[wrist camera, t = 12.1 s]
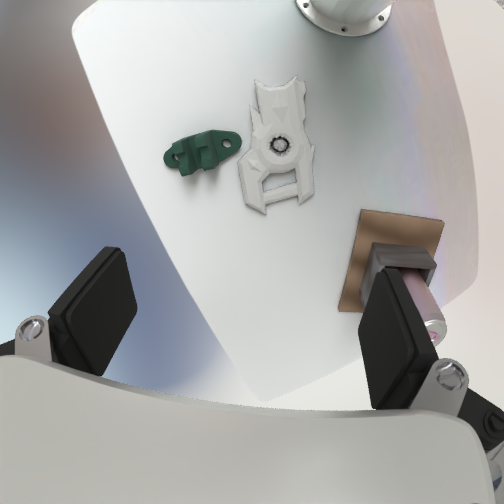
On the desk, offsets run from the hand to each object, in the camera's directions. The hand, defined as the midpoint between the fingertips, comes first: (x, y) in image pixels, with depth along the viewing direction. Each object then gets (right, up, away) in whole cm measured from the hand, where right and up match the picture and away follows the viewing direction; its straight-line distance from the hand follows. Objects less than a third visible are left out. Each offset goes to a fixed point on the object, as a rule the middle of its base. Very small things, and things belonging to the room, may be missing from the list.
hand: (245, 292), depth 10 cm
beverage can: (+23, -1, +32) cm, 39 cm away
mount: (-6, +15, +28) cm, 32 cm away
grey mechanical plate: (+3, +15, +27) cm, 31 cm away
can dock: (+22, -1, +33) cm, 40 cm away
